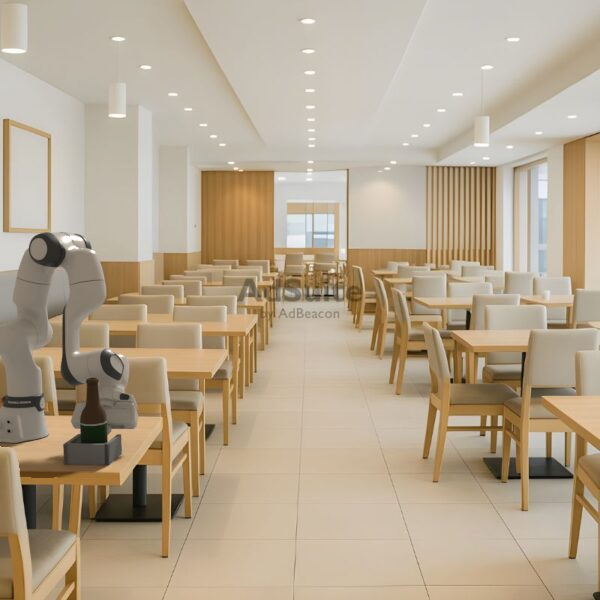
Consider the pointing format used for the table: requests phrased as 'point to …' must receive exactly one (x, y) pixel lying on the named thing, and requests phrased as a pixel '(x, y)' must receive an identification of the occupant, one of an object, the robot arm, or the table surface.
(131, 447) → the table surface
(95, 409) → the beer bottle
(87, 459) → the bottle stall
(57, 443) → the table surface
